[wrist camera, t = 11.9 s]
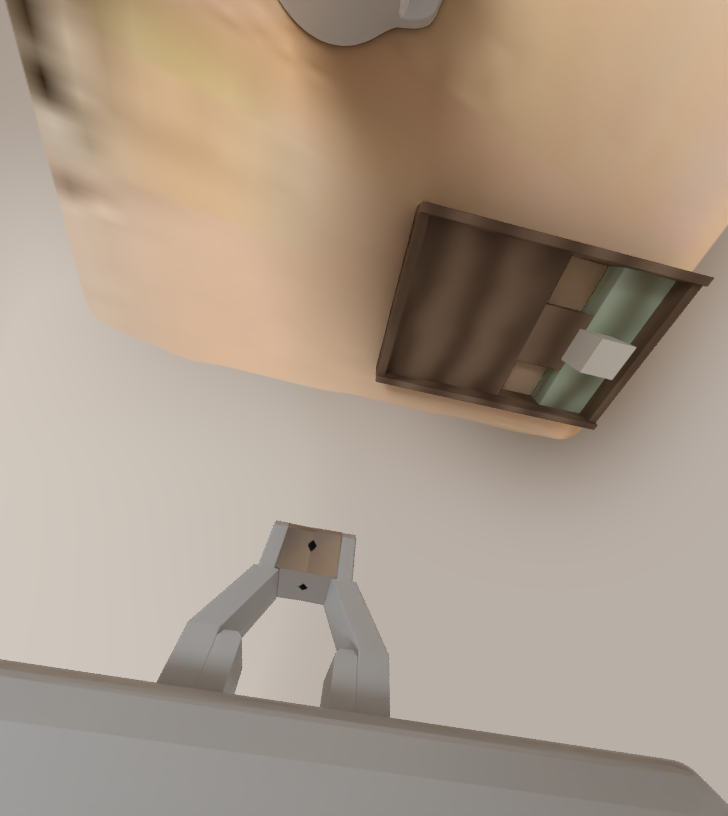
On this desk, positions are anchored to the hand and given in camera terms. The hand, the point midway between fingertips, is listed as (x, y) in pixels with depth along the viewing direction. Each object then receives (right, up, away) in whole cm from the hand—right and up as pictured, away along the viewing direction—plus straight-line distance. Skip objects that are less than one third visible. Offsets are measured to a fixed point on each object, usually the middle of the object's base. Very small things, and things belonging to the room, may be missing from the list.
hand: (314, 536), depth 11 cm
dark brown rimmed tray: (+20, +16, +26) cm, 36 cm away
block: (+29, +12, +24) cm, 40 cm away
